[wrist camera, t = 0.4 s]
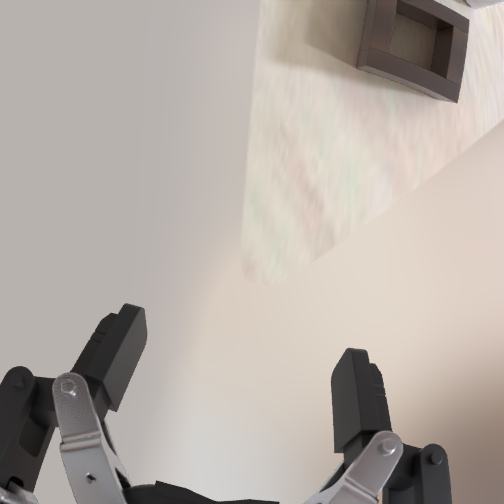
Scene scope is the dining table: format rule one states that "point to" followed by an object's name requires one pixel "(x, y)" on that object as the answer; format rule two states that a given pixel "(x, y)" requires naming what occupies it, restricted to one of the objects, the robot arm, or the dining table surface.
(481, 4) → the eye dropper bottle
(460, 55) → the holder
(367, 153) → the dining table surface
